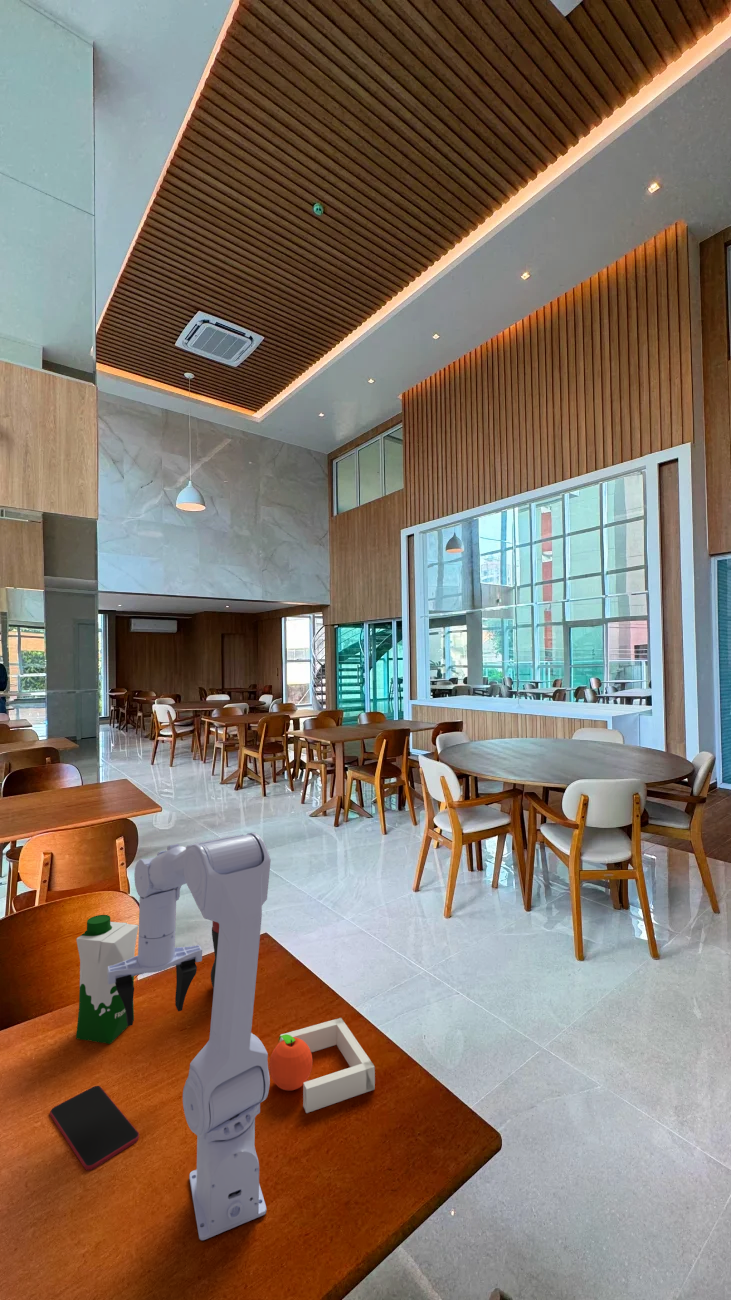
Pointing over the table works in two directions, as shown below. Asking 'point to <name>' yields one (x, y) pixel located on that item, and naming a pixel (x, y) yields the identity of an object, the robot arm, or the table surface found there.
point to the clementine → (290, 1063)
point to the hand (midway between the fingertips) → (154, 1014)
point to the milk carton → (102, 978)
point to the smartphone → (94, 1127)
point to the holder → (342, 1081)
